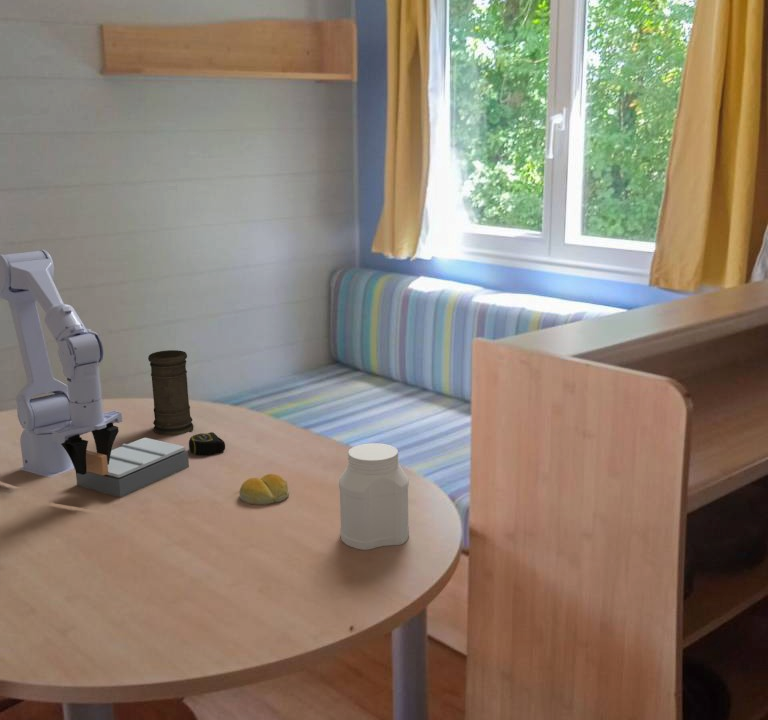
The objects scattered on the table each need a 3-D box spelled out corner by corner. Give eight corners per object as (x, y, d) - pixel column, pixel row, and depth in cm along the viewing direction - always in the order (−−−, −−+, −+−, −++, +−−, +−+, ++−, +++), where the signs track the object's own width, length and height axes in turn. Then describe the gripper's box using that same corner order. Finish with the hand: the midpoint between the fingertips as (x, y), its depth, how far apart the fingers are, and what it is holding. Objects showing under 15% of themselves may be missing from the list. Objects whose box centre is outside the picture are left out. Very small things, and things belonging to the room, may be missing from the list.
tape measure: (226, 455, 196) (225, 438, 195) (195, 461, 193) (193, 444, 192) (216, 446, 202) (215, 429, 201) (185, 451, 199) (184, 434, 198)
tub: (77, 487, 180) (75, 468, 179) (146, 459, 195) (145, 440, 194) (121, 500, 174) (119, 480, 173) (189, 469, 188) (187, 450, 187)
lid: (70, 469, 178) (67, 448, 176) (144, 440, 193) (143, 420, 192) (111, 480, 172) (109, 459, 171) (185, 449, 187) (184, 429, 186)
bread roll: (235, 494, 176) (233, 474, 175) (280, 486, 180) (279, 466, 179) (247, 510, 169) (246, 489, 168) (294, 501, 172) (293, 480, 171)
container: (184, 438, 207) (178, 359, 202) (146, 436, 208) (139, 358, 204) (200, 425, 215) (194, 349, 211) (163, 423, 217) (157, 348, 212)
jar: (349, 553, 151) (346, 465, 147) (334, 529, 160) (331, 446, 156) (416, 542, 154) (415, 457, 151) (398, 519, 163) (397, 438, 159)
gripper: (68, 412, 163) (76, 485, 167) (130, 392, 175) (136, 460, 179) (41, 406, 167) (49, 478, 170) (104, 386, 179) (111, 453, 182)
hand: (92, 468), depth 175 cm, fingers open, 5 cm apart
